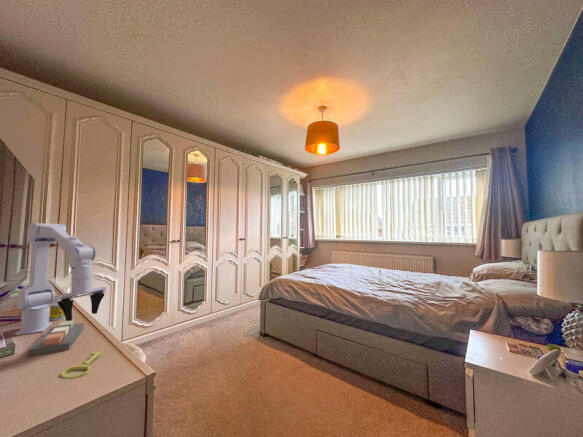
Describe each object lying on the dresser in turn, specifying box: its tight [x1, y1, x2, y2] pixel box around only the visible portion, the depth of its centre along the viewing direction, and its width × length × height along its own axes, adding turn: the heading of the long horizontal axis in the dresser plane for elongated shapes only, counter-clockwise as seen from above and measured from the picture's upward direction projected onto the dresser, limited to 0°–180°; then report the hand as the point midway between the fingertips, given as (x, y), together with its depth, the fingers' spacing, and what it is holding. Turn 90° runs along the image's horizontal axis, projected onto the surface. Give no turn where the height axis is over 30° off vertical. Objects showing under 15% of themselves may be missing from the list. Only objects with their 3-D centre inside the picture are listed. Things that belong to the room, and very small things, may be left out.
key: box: [60, 350, 102, 379], centre depth 73 cm, size 7×12×2 cm, turn 24°
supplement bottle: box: [49, 300, 66, 321], centre depth 108 cm, size 5×5×10 cm
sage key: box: [57, 320, 75, 330], centre depth 94 cm, size 4×4×2 cm
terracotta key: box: [43, 333, 63, 346], centre depth 83 cm, size 4×4×2 cm
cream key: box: [51, 326, 69, 336], centre depth 88 cm, size 4×4×2 cm
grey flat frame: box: [27, 322, 85, 357], centre depth 88 cm, size 20×10×2 cm, turn 30°
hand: (82, 316), depth 85 cm, fingers open, 7 cm apart
